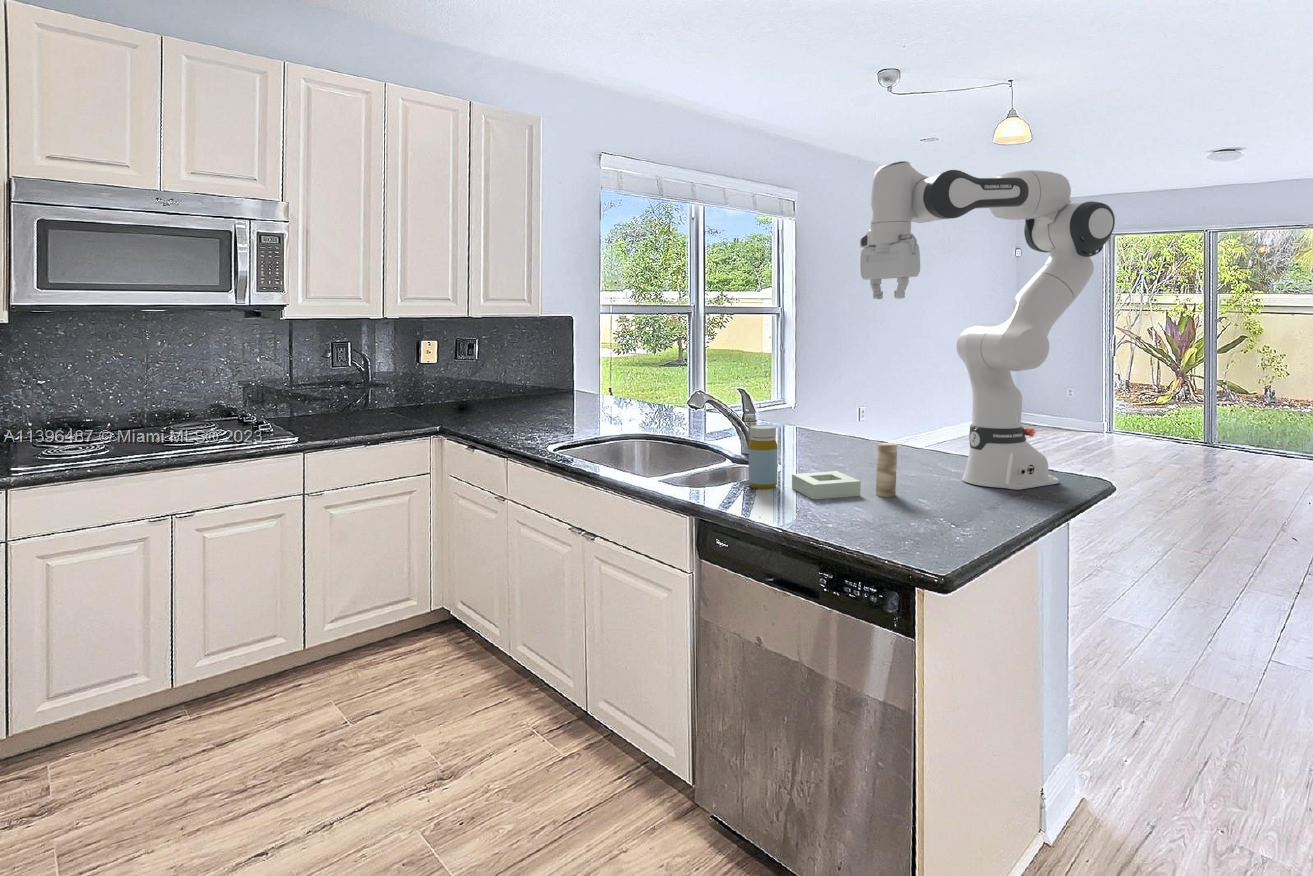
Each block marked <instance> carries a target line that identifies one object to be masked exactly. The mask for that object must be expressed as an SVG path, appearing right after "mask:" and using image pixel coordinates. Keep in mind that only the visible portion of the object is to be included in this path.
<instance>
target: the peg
mask: <svg viewBox="0 0 1313 876" xmlns="http://www.w3.org/2000/svg"><path fill="white" fill-rule="evenodd" d="M876 450H877V451H876V452H877V454H876V479H875V480H876V484H875V495H876V496H877V497H880V498H894V497H896V491H897V489H896V488H897V487H896V486H897V463H898V462H897V461H898V444H897V443H894V442H893V443H892V442H891V443H890V442H881V443H880V442H879V443H877V448H876Z"/></svg>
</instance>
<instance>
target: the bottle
mask: <svg viewBox="0 0 1313 876" xmlns="http://www.w3.org/2000/svg"><path fill="white" fill-rule="evenodd" d="M776 435H777V427H776V426H775V425H772V424H754V425H751V426H750V441H749V444H748V485H749V486H750V487H751V488H752V489H757V490H770V489H774V488H776V486H777V485H778V453H779V452H778V449H779V448H778V443H777V441H776V439H777V437H776Z"/></svg>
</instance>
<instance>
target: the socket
mask: <svg viewBox="0 0 1313 876" xmlns="http://www.w3.org/2000/svg"><path fill="white" fill-rule="evenodd" d="M861 483H862V482H861V480H859V479H857V478H854V477H851V476H849V475H847V474H845V473H843V472H840V471H838V470H832V471H817V472H804V473H794V474H793V473H792V474H791V489H793V490H795V491H797V492H798V493H800V494H802V495H803V496H805V497H807V498H809V499H812V500H813V499H814V500H823V499H824V500H825V499H827V500H828V499H837V498H838V499H839V498H850V497H851V498H852V497H860V496H861V492H862V491H861V487H862V486H861V485H862V484H861Z"/></svg>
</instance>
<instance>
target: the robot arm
mask: <svg viewBox="0 0 1313 876" xmlns="http://www.w3.org/2000/svg"><path fill="white" fill-rule="evenodd" d="M1071 193H1072V188H1071V184H1070V181H1069V179H1068V178H1067V177H1066V176H1064V175H1063V174H1061V173H1058V172H1054V171H1053V172H1052V171H1047V170H1035V169H1033V170H1031V169H1029V170H1016V171H1011V172H1006V173H1003V174H1000V175H997V176H996V177H983V178H982V177H981V178H980V177H976V176H973V175H971V174H968V172H967V173H966V172H965V171H962V170H957V169H949V170H946V171H943V172H941V173H939V174H936V175H933V176H927V175H925V174H922V173H920V172H919V171H917V169H915V168H914V167H913V166H912V164H911V163H910V161H905V160H904V161H897V162H892V163H889V164H885V165H884V164H883V165H882V166H880V167H879V168H877V170H876V171H874V174H873V180H872V186H871V199H870V201H871V203H870V204H871V205H870V207H871V209H872V216H871V220H870V229H869V230H868V231H867V232H866V234H864V235H863V236H862V237H861V238H860V239H859V247H860V248H862V249H861V251H860V276H861V278H862V280H865V281H867V280H868V281H870V288H871V290H872V299H873V300H882V299H883V297H884V290H882V288H881V284H882V280H887V279H896V283H897V287H896V290H894V292H893V293H894V294H893V295H894V299H896V300H897V299H902V300H903V299H904V298H905V297H906V296H905V295H906V289H907V287H908V285H909V281H910V280H909V279H910V278H915V277H916V278H917V277H918V276H919V274H920V273H921V255H920V254H921V253H920V252H921V251H920V246H919V244H918V240H917V238H916V237H915V235H914V234H913V233H912V223H918V224H924V223H930V222H935V221H941V220H949V219H956V218H957V219H958V218H960V217H962V216H964V215H966V214H968V213H969V212H971V211H972V210H974V209H989V211H990V212H991V214H992V215H993V216H994V217H995V218H997V219H998V218H999V219H1003V220H1011V221H1013V220H1019V221H1020V220H1024V221H1025V223H1024V230H1023V231H1024V233H1023V234H1024V238H1025V242H1026V244H1027V246H1028V247H1029V248H1030V249H1032V250H1034V251H1037V252H1040V253H1049V256H1048V258H1047V260H1046V262H1045V263H1044V265H1043V266H1042V267H1041V268H1039V270H1037V272H1036V273H1035V274H1034V275H1032V277H1031V278H1030V279H1029V281H1028V282H1026V284H1025V285H1023V287H1022V288H1021V289H1020V290H1019V292H1017V294H1015V296H1014V297H1013V299H1012V307H1013V308H1012V309H1013V312H1012V314H1011V316H1010V317H1009V318H1008V319H1007V320H1005V322H1002V323H979V324H977V325H976V324H975V325H973V326H969V327H967V328H965V329H964V330H963V331H962V332H961V333H960V334H959V336H958V337H957V341H956V352H957V355H958V356H959V359H961V361H962V362H963V363H964V366H965V367H966V370H967V373H968V376H969V381H970V385H971V391H972V414H971V415H972V419H971V421H972V422H971V424H970V426H969V435H968V436H969V438H968V439H969V451H968V457H967V462H966V466H965V469H964V472H963V475H962V478H961V479H962V481H963V482H965V483H968V484H971V485H976V486H981V487H987V488H988V487H989V488H1000V489H1008V490H1009V489H1010V490H1024V489H1031V488H1036V487H1037V488H1038V487H1044V486H1045V487H1046V486H1051V485H1056V484H1059V483H1060V482H1059V478H1058V477H1056V476H1053V475H1051V474H1049V473H1050V472H1049V463H1048V459H1047V457H1046V456H1045V455H1044V454H1043V453H1041V452H1040V451H1039V450H1038V449H1036V448H1035V447H1034V446H1033V445H1031V444H1030V443H1029V442H1028V441H1027V438H1026V436H1029V437H1030V438H1032V437H1035V435H1036V430H1035V428H1034V427H1033V428H1030V427H1026V428H1024V427H1023V426H1022V412H1023V411H1022V408H1023V395H1022V392H1021V391H1020V389H1019V388H1018V387H1017V386H1016V384H1015V382H1014V380H1013V377H1012V373H1011V372H1022V371H1029V370H1034V369H1036V368H1038V367H1040V366H1041V365H1043V364H1044V362H1045V361H1046V359H1047V358H1048V356H1049V353H1050V341H1049V338H1048V336H1049V333H1050V331H1051V329H1052V327H1053V326H1054V324H1055V323H1056V322H1057V321H1058V320H1059V318H1060V317H1061V316H1062V315H1063V314H1064V313H1065V311H1066V310H1067V309H1068V308H1069V307H1070V306H1071V305H1072V304H1073V303H1074V301H1075V300H1076V299H1077V298H1078V296H1080V294H1081V293H1082V292H1083V290H1084V289H1085V287H1086V286H1087V284H1088V283H1089V281H1090V280H1091V277H1092V276H1093V273H1094V270H1095V266H1094V262H1093V260H1092V259H1091V257H1093V256H1095V255H1098V254H1099V253H1100V252H1102V251H1103V248H1104V246H1105V245H1106V243H1107V242H1108V241H1109V239H1110V237H1111V235H1112V234H1113V231H1114V228H1115V225H1116V224H1115V222H1116V221H1115V213H1114V211H1113V209H1112V208H1111V207H1110V206H1109V205H1108V204H1106V203H1103V202H1100V201H1092V200H1091V201H1090V200H1088V201H1085V202H1076V203H1075V202H1073V203H1072V201H1071V199H1070V198H1071V195H1072V194H1071Z"/></svg>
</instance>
